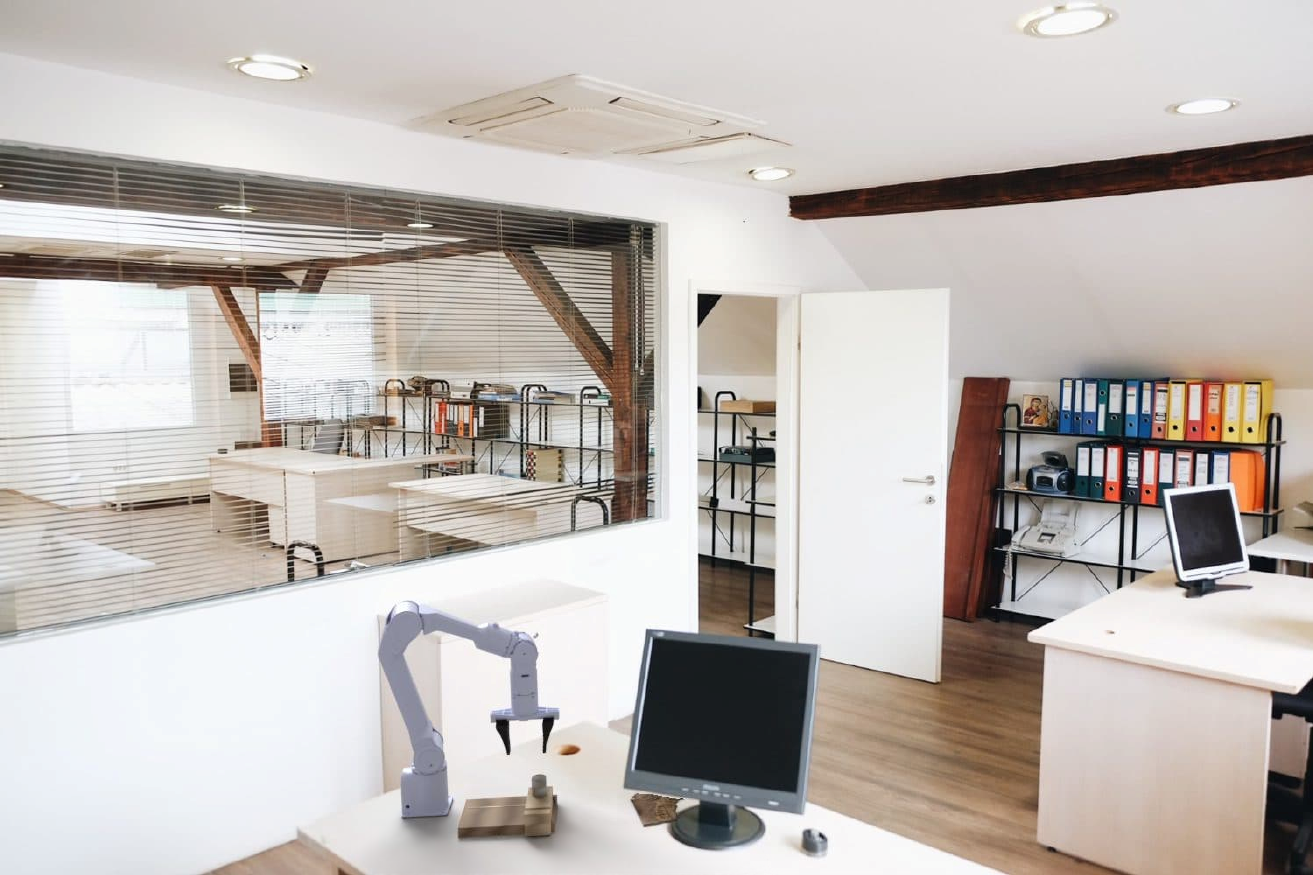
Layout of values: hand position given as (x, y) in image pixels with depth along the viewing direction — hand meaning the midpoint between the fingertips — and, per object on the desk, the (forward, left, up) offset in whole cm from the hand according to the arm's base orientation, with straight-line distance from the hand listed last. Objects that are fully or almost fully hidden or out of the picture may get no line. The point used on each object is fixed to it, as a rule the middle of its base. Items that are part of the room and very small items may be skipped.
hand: (526, 752), depth 204 cm
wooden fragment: (+28, -4, -10) cm, 30 cm away
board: (-3, -11, -9) cm, 15 cm away
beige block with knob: (+4, -13, -9) cm, 16 cm away
